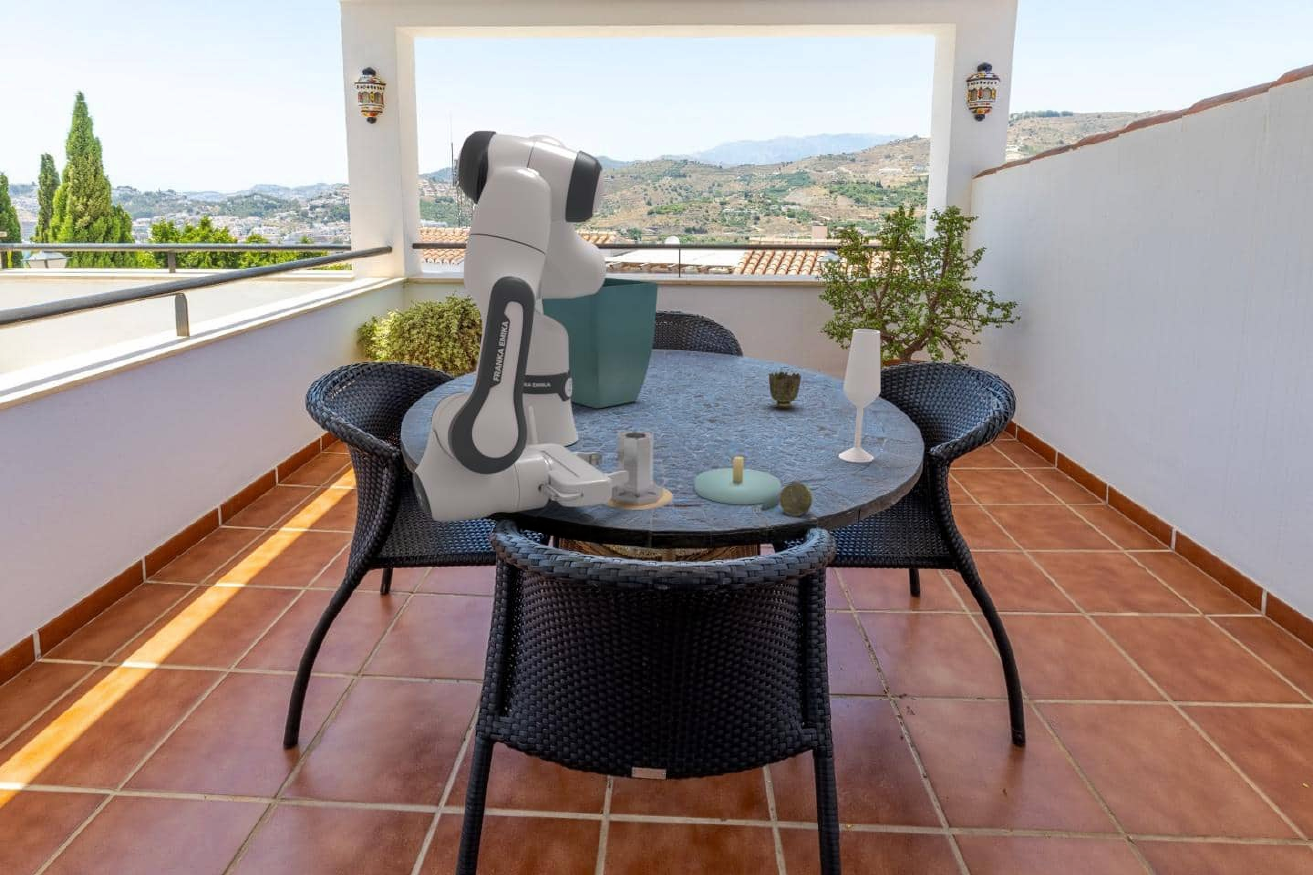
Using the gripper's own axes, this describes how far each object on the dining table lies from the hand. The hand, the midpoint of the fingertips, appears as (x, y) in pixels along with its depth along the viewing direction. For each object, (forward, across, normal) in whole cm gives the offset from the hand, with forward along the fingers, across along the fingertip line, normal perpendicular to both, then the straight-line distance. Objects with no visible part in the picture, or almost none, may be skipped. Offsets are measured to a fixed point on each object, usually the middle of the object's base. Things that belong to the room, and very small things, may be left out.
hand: (613, 466), depth 128 cm
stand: (+4, 0, +7) cm, 8 cm away
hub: (+20, -5, +7) cm, 22 cm away
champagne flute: (+53, +3, +7) cm, 53 cm away
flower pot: (+28, +65, +7) cm, 71 cm away
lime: (+24, -15, +7) cm, 29 cm away
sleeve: (+4, 0, +6) cm, 7 cm away
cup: (+64, +41, +7) cm, 76 cm away
